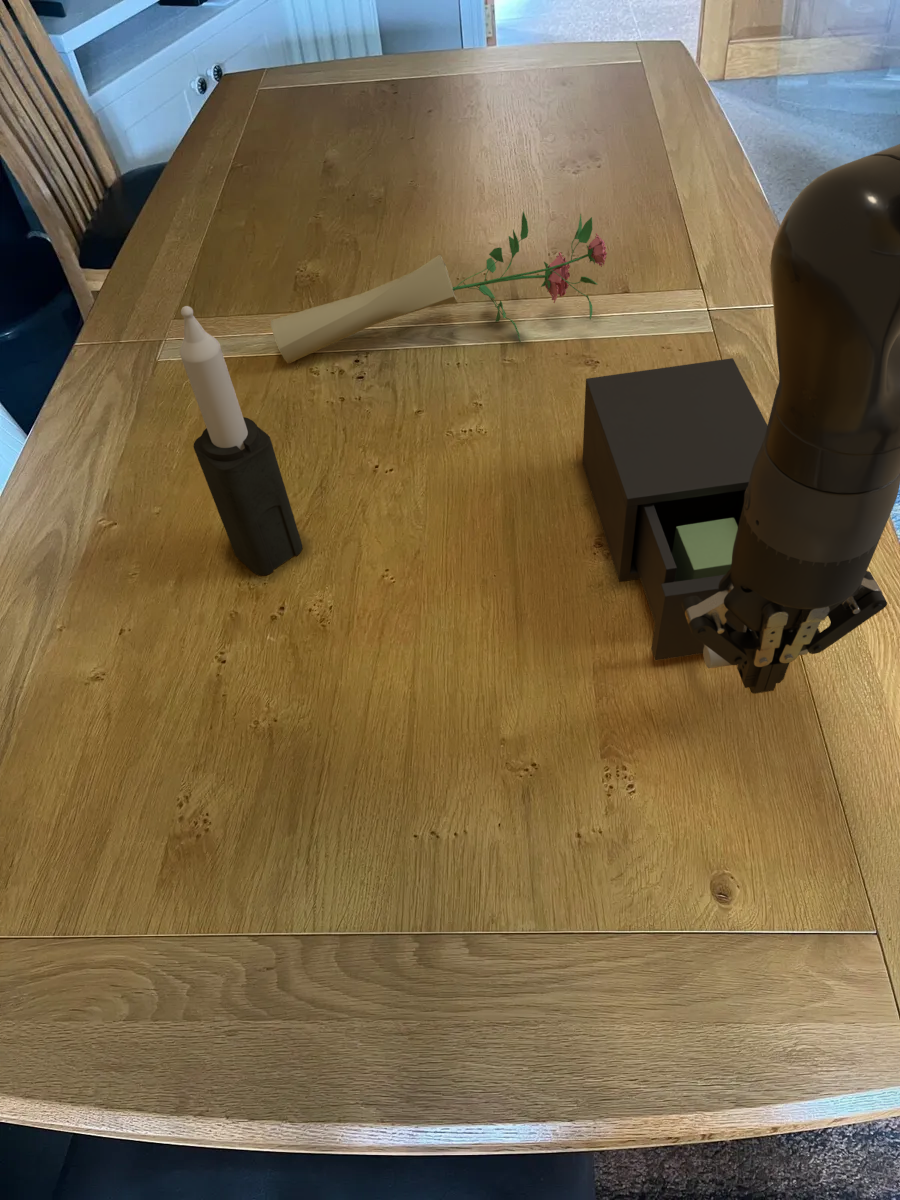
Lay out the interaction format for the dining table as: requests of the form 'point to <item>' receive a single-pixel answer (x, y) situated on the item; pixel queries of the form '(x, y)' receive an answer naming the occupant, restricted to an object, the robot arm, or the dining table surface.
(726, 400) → the cabinet
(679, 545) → the block
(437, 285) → the flower vase
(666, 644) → the drawer
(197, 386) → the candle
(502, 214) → the dining table surface
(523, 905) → the dining table surface
